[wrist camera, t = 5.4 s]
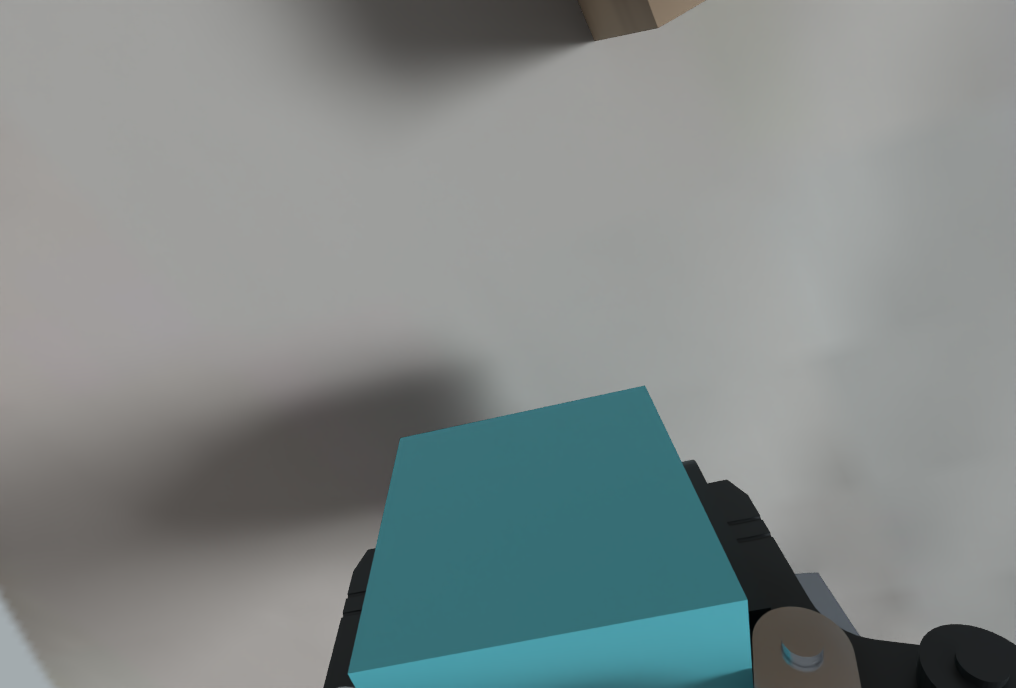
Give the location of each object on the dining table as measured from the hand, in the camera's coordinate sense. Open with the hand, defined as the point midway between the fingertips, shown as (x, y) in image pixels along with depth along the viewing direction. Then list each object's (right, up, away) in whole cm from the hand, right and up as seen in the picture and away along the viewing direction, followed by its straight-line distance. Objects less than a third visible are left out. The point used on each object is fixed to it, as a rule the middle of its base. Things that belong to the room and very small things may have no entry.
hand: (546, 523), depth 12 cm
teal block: (0, 0, 0) cm, 0 cm away
